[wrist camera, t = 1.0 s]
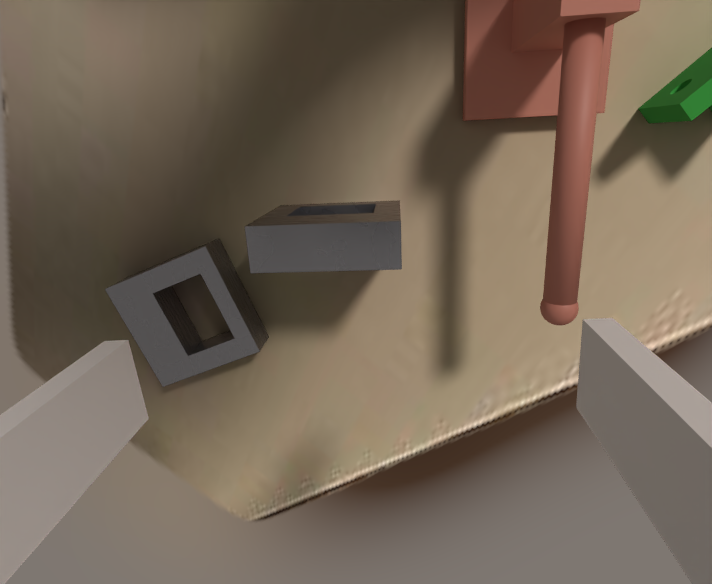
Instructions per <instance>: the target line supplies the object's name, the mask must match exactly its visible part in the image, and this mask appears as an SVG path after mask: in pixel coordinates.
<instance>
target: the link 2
mask: <svg viewBox="0 0 712 584" xmlns="http://www.w3.org/2000/svg"><path fill="white" fill-rule="evenodd" d="M245 233H246V241H247V249H248V257H249V265H250V273H279V272H317V271H355V270H394V269H402V261H401V217H400V201H375V202H350V203H324V204H299V205H280V206H279V207H277V208H275V209H274V210H272V211H270V212H269V213H267V214H265V215H264V216H262V217H260V218H258V219H257V220H255V221H253V222H252V223H250V224H248V225H247V226H245Z"/></svg>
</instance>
